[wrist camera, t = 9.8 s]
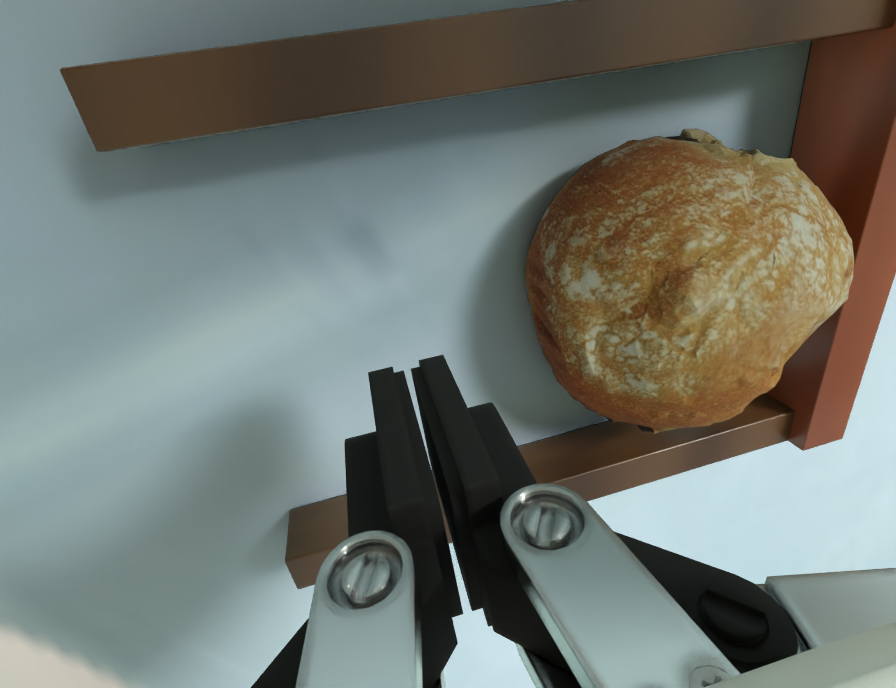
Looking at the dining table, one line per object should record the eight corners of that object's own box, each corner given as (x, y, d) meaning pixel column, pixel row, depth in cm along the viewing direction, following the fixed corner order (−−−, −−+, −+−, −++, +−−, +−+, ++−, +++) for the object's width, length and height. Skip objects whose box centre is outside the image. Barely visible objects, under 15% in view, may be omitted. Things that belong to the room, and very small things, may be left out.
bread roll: (702, 169, 20) (921, 57, 12) (732, 400, 20) (967, 435, 13) (486, 188, 18) (581, 70, 10) (522, 442, 19) (642, 514, 11)
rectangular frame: (875, -27, 15) (1003, -62, 12) (778, 399, 22) (842, 438, 20) (108, 78, 11) (37, 64, 9) (300, 536, 19) (296, 608, 16)
